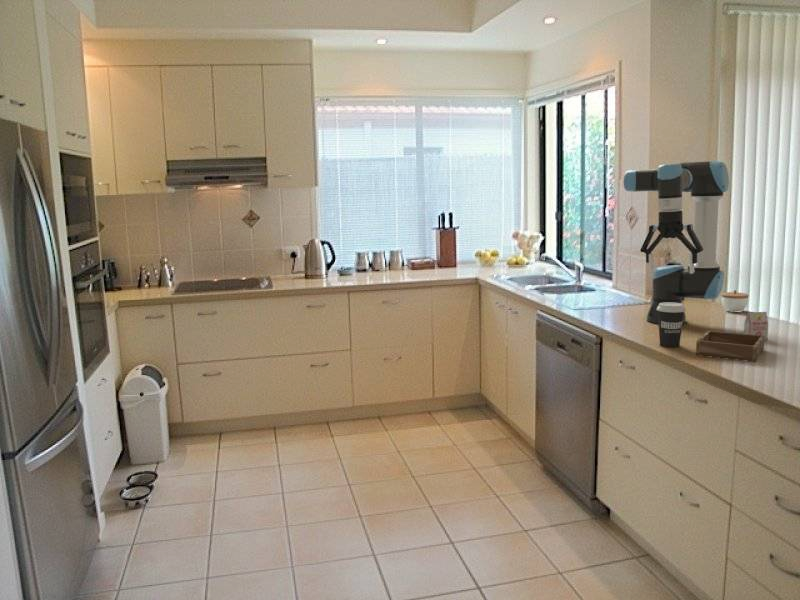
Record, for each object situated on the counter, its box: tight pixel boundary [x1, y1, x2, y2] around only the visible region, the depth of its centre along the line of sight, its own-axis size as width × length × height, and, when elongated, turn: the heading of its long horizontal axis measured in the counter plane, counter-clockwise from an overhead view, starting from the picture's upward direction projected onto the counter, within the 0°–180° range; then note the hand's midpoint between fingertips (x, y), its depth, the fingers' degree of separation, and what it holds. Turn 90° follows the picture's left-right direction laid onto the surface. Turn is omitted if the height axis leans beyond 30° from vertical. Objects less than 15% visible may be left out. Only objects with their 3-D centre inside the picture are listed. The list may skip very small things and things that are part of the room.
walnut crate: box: [695, 330, 765, 363], centre depth 233 cm, size 18×18×5 cm
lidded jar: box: [720, 289, 749, 311], centre depth 303 cm, size 11×11×9 cm
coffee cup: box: [657, 302, 686, 349], centre depth 245 cm, size 10×10×15 cm
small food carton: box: [743, 311, 769, 341], centre depth 252 cm, size 4×7×10 cm, turn 90°
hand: (671, 272), depth 236 cm, fingers open, 13 cm apart
